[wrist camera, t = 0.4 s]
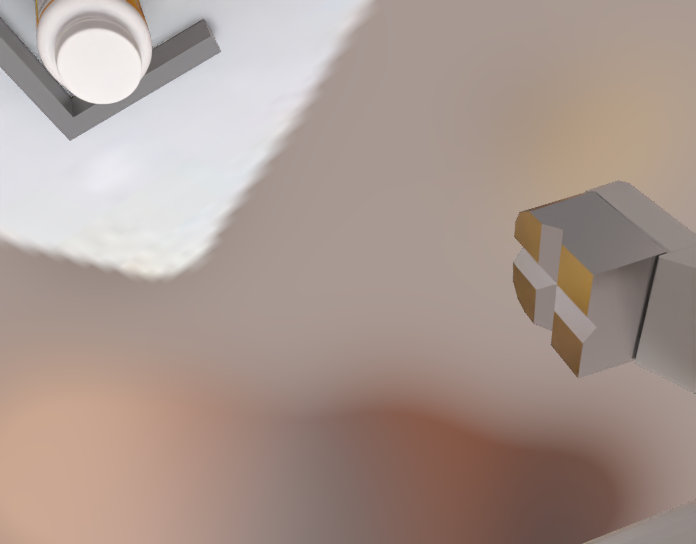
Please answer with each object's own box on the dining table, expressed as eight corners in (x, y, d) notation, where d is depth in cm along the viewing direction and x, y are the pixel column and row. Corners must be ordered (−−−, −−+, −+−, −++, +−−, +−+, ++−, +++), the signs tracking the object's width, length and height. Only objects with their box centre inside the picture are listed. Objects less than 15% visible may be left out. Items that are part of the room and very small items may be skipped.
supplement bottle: (127, 45, 42) (148, 127, 35) (30, 25, 40) (32, 110, 33) (142, -45, 39) (169, 26, 32) (38, -73, 36) (42, -2, 30)
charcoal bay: (-91, -53, 35) (-97, -37, 33) (90, -165, 34) (93, -154, 33) (68, 121, 44) (69, 140, 42) (213, 34, 44) (221, 51, 42)
